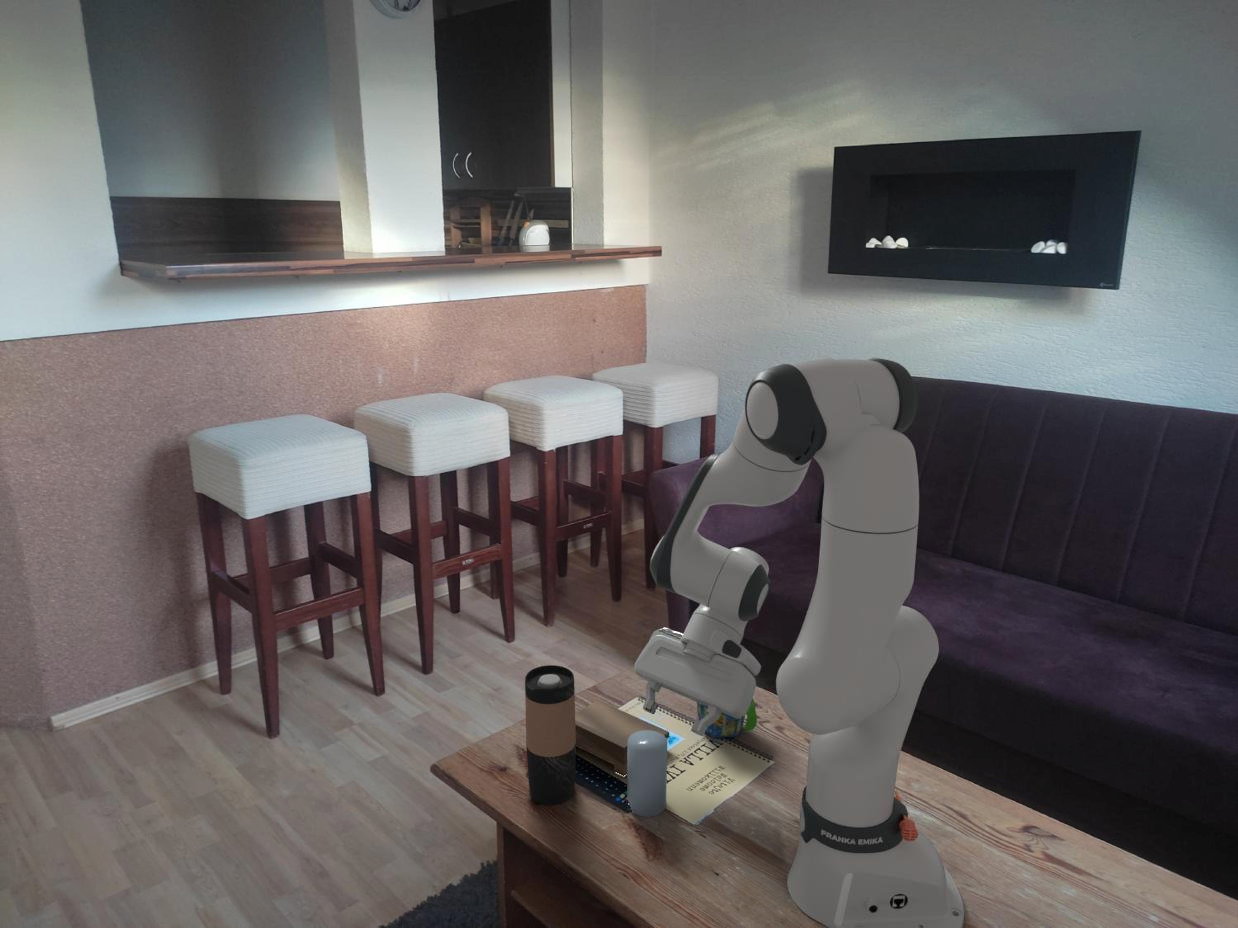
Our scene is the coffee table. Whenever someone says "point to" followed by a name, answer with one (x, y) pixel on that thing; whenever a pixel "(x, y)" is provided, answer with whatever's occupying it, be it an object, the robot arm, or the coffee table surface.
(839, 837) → the robot arm
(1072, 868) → the coffee table surface
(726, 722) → the snack cup
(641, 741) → the grey rounded cylinder
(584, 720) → the brown wooden box
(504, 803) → the coffee table surface
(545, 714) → the travel mug
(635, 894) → the coffee table surface
